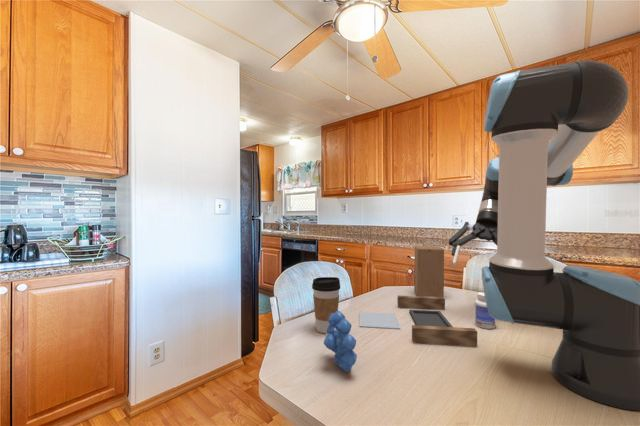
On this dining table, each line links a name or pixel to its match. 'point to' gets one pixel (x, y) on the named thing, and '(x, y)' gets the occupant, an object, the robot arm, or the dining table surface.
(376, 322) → the pad
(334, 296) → the coffee cup
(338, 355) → the grapes
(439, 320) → the tray
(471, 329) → the walnut lane walls
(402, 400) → the dining table surface
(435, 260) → the wooden block
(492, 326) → the pill bottle
